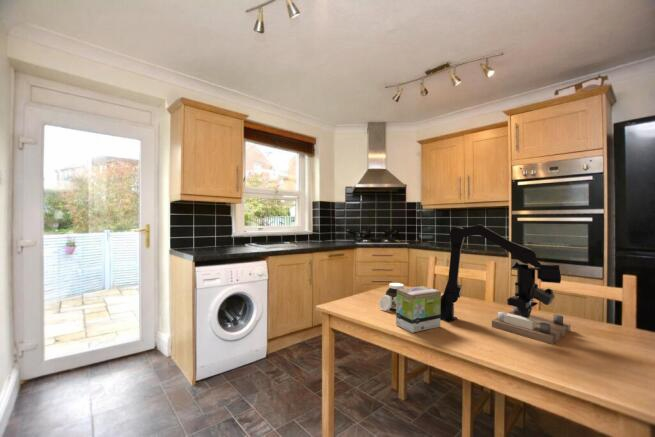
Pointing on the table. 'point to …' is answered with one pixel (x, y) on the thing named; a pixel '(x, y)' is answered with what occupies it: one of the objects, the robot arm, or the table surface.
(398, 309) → the tea box
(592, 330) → the table surface
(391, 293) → the spread jar
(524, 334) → the slatted wooden base
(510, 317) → the white rectangular block
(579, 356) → the table surface
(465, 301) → the table surface
